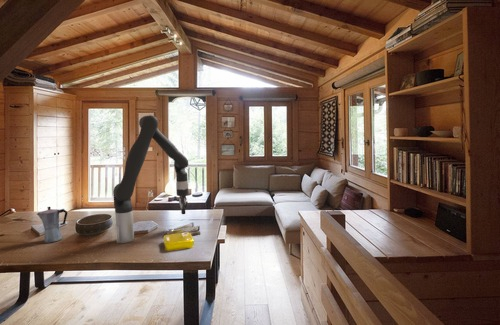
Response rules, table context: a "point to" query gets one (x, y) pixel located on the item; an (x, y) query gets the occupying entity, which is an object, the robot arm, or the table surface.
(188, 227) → the tong swing arm
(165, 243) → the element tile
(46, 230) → the moka pot
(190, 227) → the tong fixed arm
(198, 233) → the tong board
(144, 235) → the table surface
